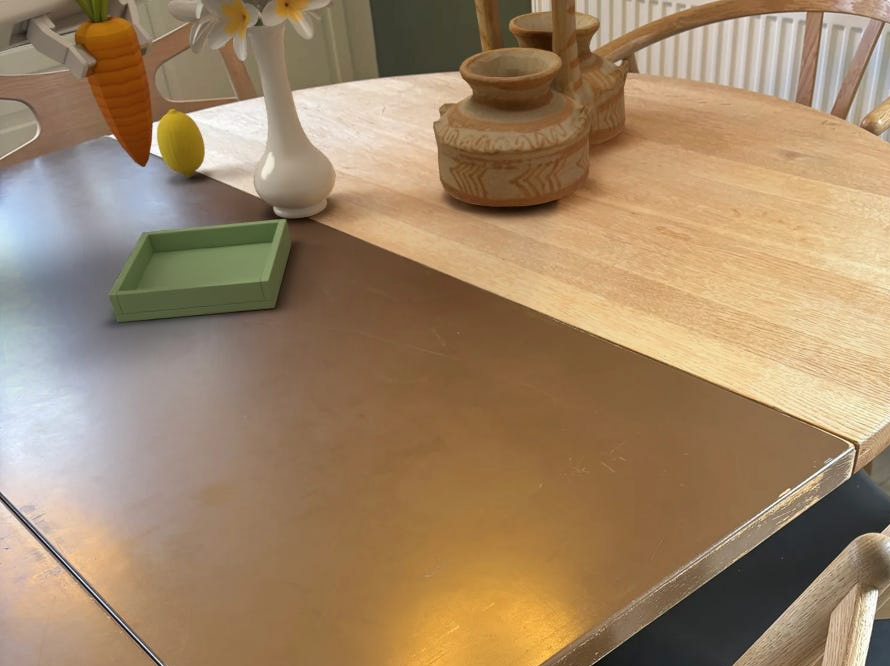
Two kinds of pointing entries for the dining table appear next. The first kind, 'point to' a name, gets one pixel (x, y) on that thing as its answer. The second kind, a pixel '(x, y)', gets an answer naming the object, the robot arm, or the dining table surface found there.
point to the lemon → (180, 142)
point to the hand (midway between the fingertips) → (117, 61)
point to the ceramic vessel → (529, 109)
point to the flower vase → (269, 93)
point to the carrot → (118, 78)
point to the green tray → (202, 271)
